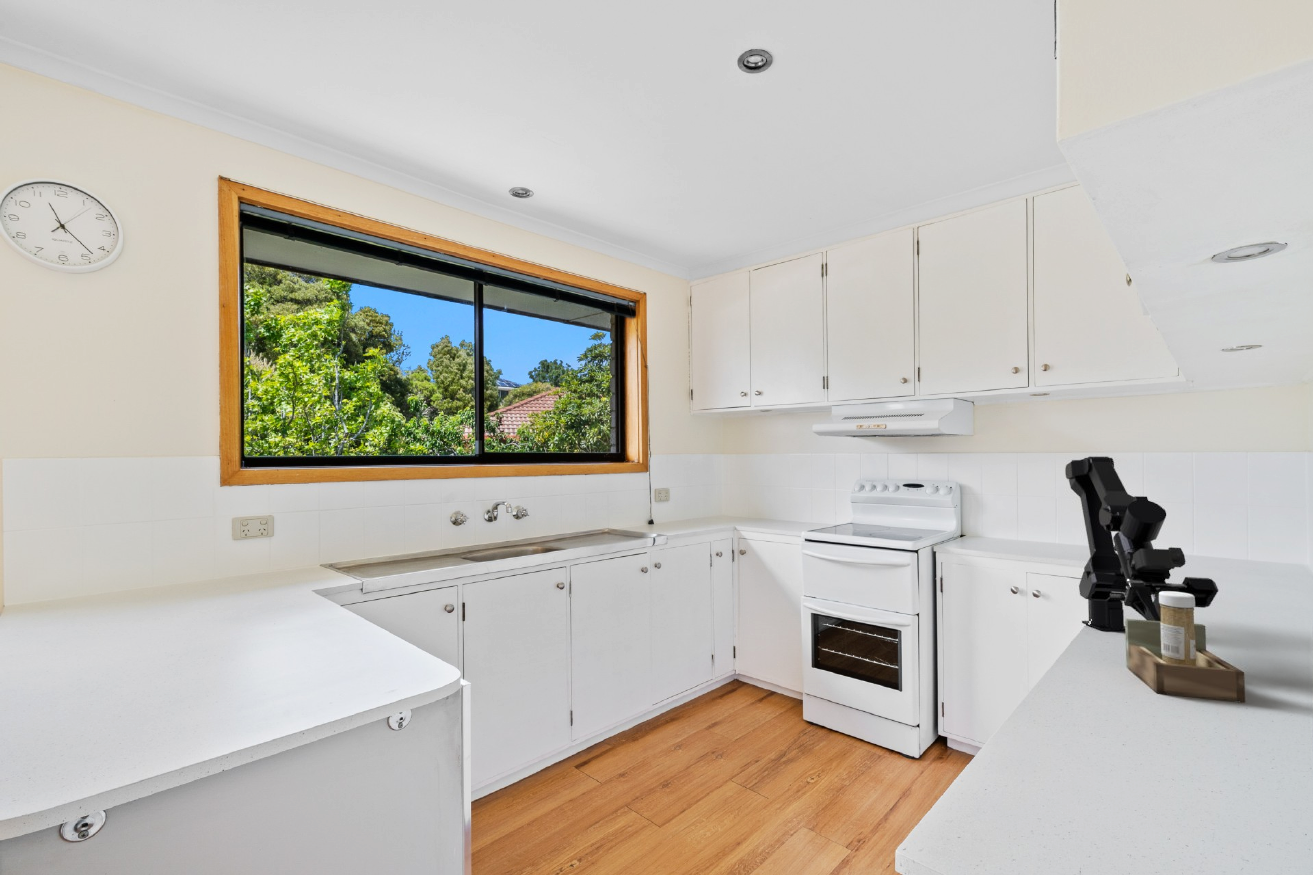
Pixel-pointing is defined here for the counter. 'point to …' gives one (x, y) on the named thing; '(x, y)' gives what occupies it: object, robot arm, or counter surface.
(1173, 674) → the walnut caddy
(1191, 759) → the counter surface
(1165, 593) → the spice jar
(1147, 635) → the drawer
